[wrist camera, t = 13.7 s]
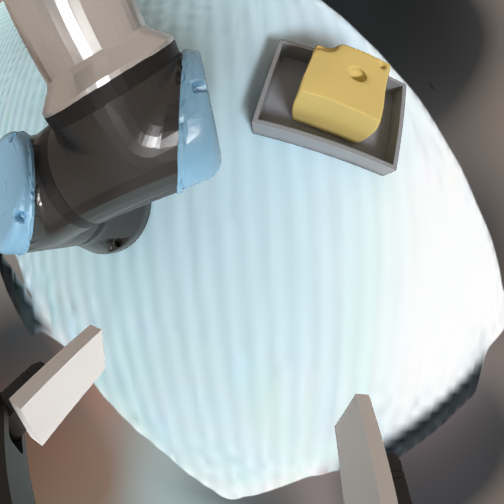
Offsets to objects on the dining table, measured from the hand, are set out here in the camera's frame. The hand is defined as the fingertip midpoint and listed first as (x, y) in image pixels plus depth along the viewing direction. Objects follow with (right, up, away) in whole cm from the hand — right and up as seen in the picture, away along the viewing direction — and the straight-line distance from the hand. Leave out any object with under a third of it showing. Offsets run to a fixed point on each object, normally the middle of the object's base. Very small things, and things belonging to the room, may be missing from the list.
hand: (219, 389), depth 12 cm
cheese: (+13, +28, +23) cm, 39 cm away
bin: (+13, +28, +24) cm, 39 cm away
